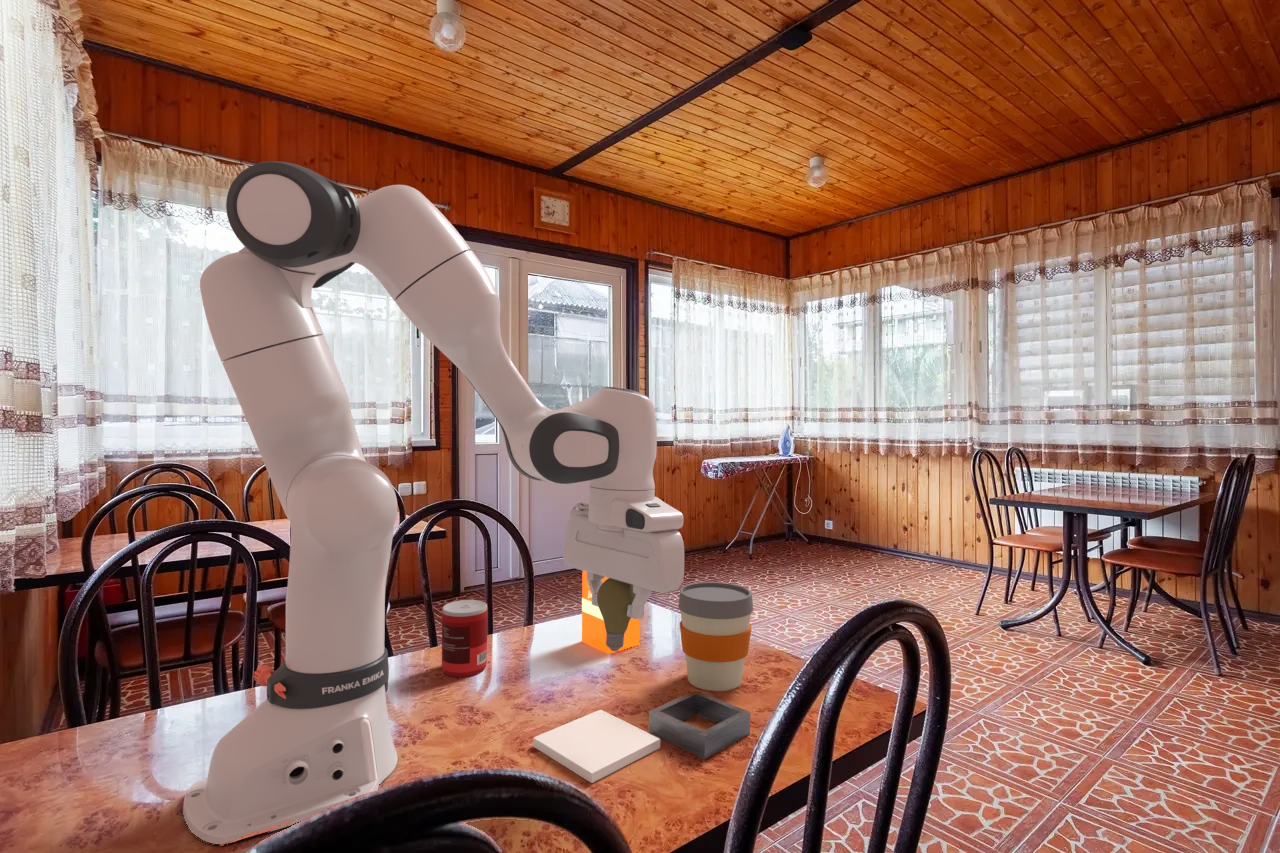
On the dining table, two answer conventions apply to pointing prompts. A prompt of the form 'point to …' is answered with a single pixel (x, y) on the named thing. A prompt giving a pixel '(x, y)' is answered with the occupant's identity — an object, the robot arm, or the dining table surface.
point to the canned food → (464, 638)
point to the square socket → (692, 739)
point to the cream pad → (596, 744)
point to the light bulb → (615, 610)
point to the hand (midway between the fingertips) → (616, 611)
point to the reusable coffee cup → (715, 633)
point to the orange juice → (602, 623)
